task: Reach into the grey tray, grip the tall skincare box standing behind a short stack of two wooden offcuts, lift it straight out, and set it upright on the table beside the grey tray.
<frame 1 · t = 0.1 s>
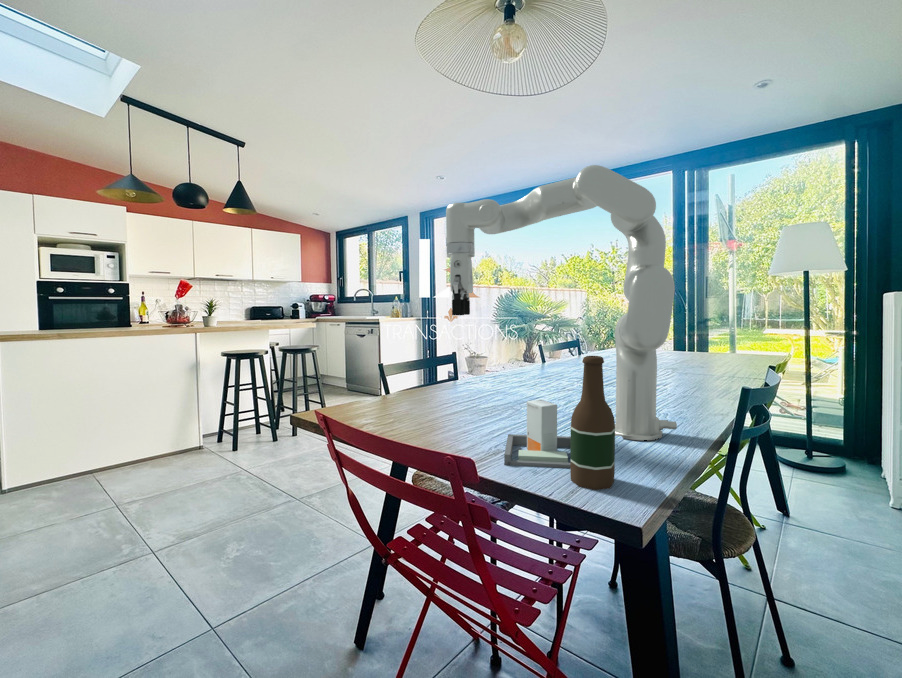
hand: (461, 314, 118), 31 cm above the table, tool pointing down, fingers open, 9 cm apart
grey tray: (541, 458, 95), on the table
upper offcut: (542, 460, 92), point 1 cm above the table, touching lower offcut
skincare box: (541, 456, 97), on the table
lower offcut: (542, 467, 92), on the table, touching upper offcut
beer bottle: (592, 486, 80), on the table
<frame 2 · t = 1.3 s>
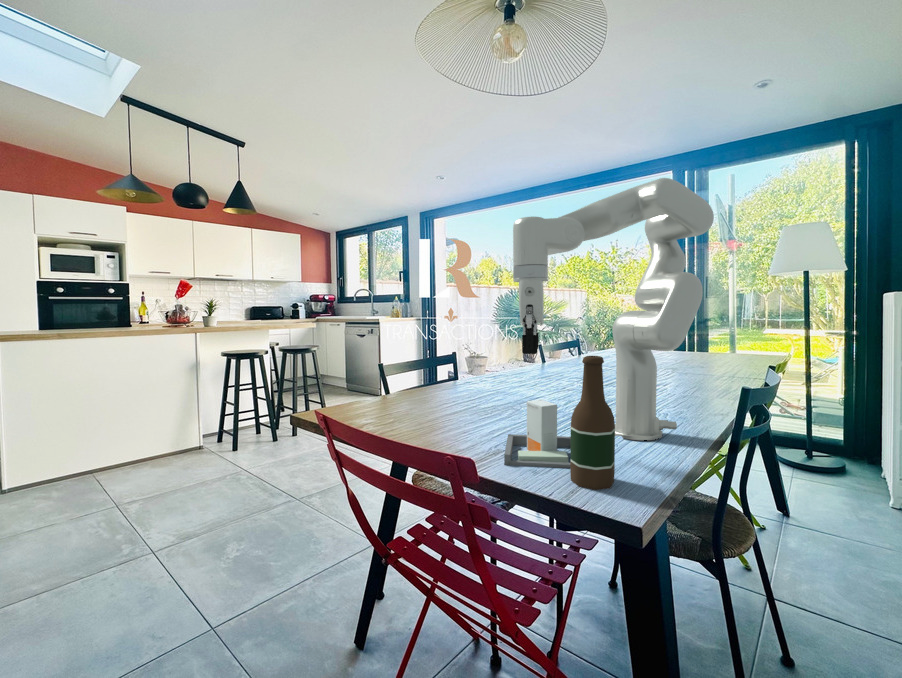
hand: (530, 351, 98), 23 cm above the table, tool pointing down, fingers open, 9 cm apart
nothing on the table moved.
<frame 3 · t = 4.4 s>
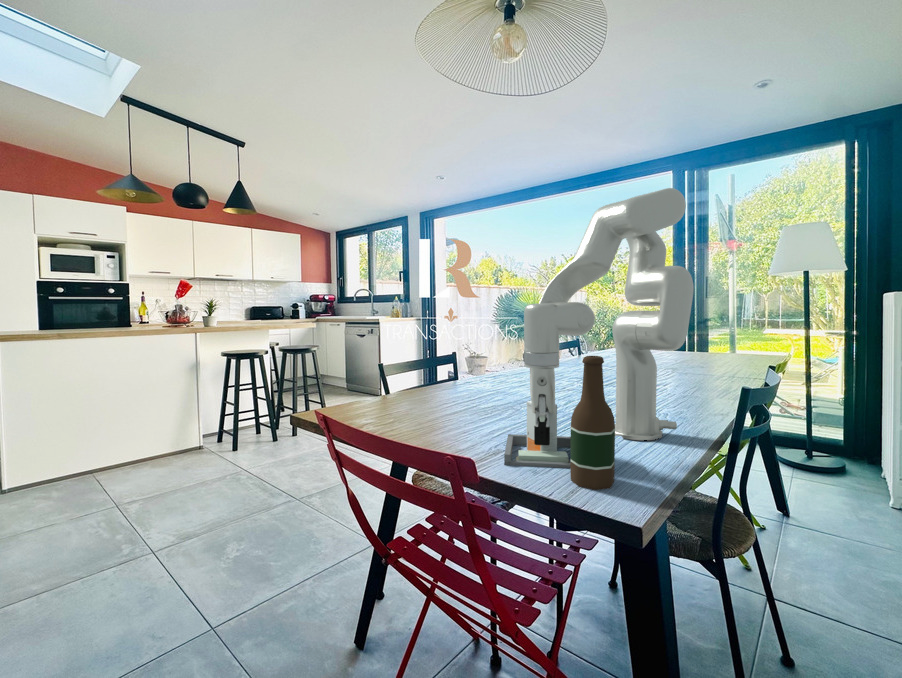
hand: (541, 438, 97), 4 cm above the table, tool pointing down, fingers closed on skincare box, 7 cm apart
skincare box: (541, 456, 97), on the table, touching gripper
everything else where it was.
when the fingers open (5 cm above the table, at t = 12.2 s): skincare box drops 1 cm, on the table.
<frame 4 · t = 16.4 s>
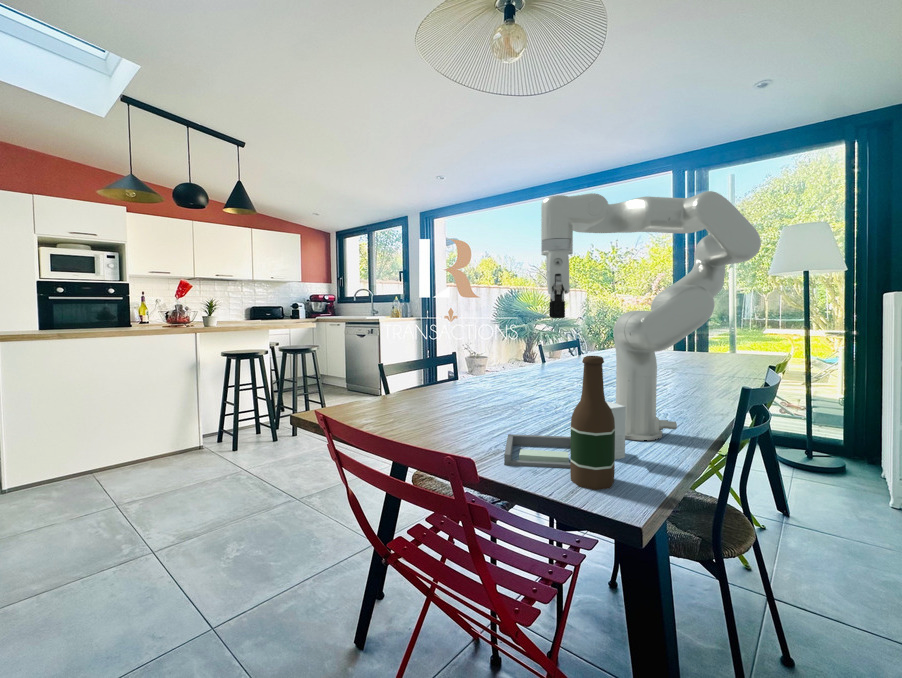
hand: (556, 317, 109), 30 cm above the table, tool pointing down, fingers open, 9 cm apart
skincare box: (607, 459, 95), on the table
everything else where it was.
at the end: skincare box inside the target area (0.1 cm from its centre), on the table; skincare box tilted 0°; upper offcut moved 0.8 cm from its start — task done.
